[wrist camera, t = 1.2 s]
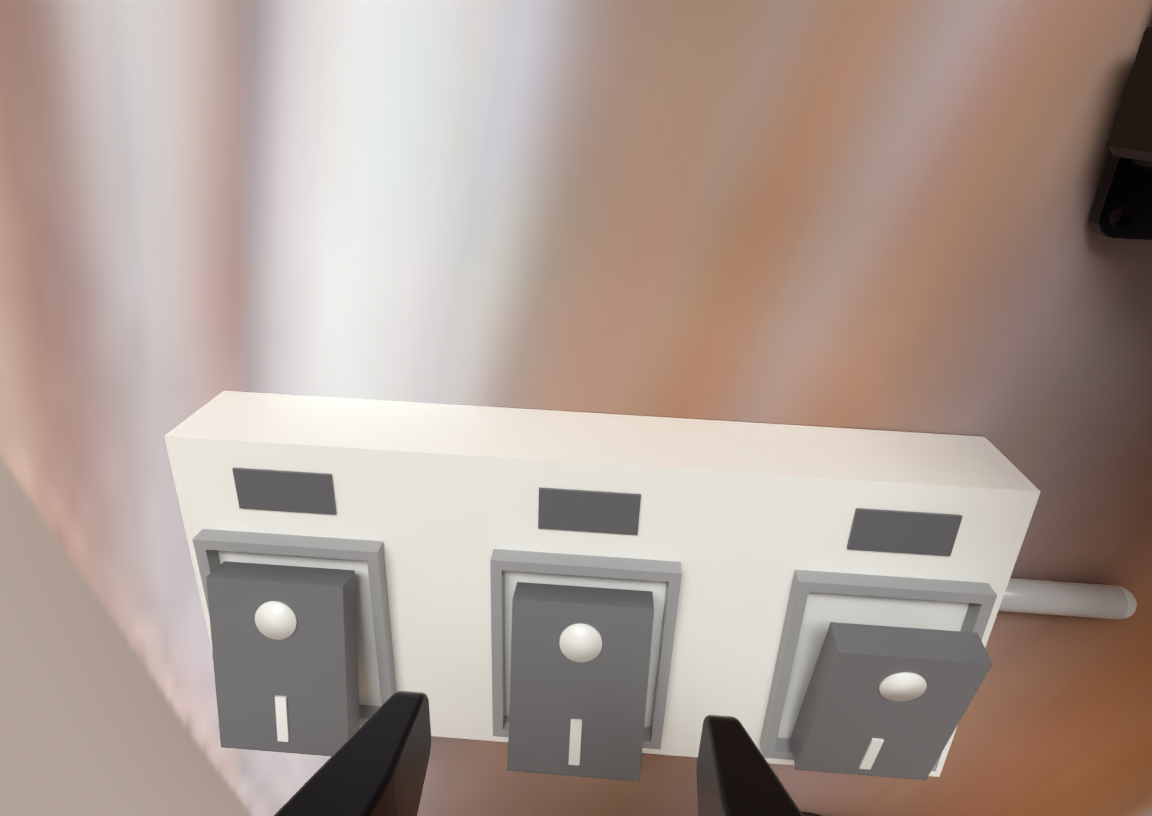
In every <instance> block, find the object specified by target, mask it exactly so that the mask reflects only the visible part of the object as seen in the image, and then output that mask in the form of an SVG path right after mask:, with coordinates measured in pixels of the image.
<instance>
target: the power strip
mask: <svg viewBox="0 0 1152 816" xmlns="http://www.w3.org/2000/svg"><path fill="white" fill-rule="evenodd" d="M164 437H165V442H166V446H167V451H168V455H169V460H170V464H171V469H172V473H173V478H174V482H175V486H176V491H177V495H178V500H179V504H180V509H181V513H182V518H183V522H184V527H185V531H186V536H187V540H188V545H189V549H190V553H191V558H192V562H193V567H194V571H195V576H196V580H197V585H198V589H199V594H200V598H201V603H202V607H203V612H204V616H205V620H206V625H207V629H208V634H209V638H210V643H211V647H212V639H211V627H210V616H209V605H208V594H207V582H206V577H207V576H208V575H209V574H210V573H211V572H212V571H214V570H215V569H216V568H217V567H218V566H219V565H221V564H222V563H223V562H224V561H229V562H243V563H257V564H271V565H285V566H299V567H314V568H328V569H342V570H355V588H356V619H357V651H358V682H359V714H360V727H361V726H362V725H363V724H364V723H365V722H366V721H367V720H368V719H369V718H370V717H371V716H372V715H373V714H374V713H375V712H376V711H377V710H378V709H379V708H380V707H381V706H382V705H383V704H384V703H385V702H386V701H387V700H388V699H389V698H390V697H391V696H392V695H393V694H394V693H396V692H398V691H410V692H423V693H425V694H426V695H427V697H428V699H429V711H430V727H431V736H436V737H448V738H461V739H473V740H486V741H498V742H508V738H509V704H510V669H511V634H512V600H513V595H514V592H515V588H516V585H517V582H526V583H540V584H554V585H568V586H583V587H597V588H611V589H625V590H639V591H652V593H653V603H654V616H653V628H652V640H651V652H650V664H649V676H648V688H647V700H646V711H645V723H644V735H643V747H642V753H648V754H661V755H673V756H686V757H698V753H699V746H700V740H701V733H702V727H703V721H704V719H705V717H706V716H708V715H719V716H732V717H735V718H737V719H738V720H739V721H740V722H741V724H742V725H743V727H744V728H745V730H746V731H747V733H748V734H749V736H750V737H751V739H752V740H753V742H754V743H755V745H756V746H757V748H758V749H759V751H760V752H761V754H762V755H763V757H764V758H765V760H766V761H767V762H768V763H773V764H786V765H795V764H794V759H793V753H792V748H791V743H790V737H791V735H792V732H793V729H794V726H795V723H796V720H797V717H798V714H799V711H800V709H801V706H802V703H803V700H804V697H805V694H806V691H807V688H808V686H809V683H810V680H811V677H812V674H813V671H814V668H815V665H816V662H817V660H818V657H819V654H820V651H821V648H822V645H823V642H824V639H825V637H826V634H827V631H828V628H829V625H830V622H836V623H850V624H863V625H877V626H891V627H905V628H919V629H933V630H947V631H961V632H975V633H978V635H979V637H980V639H981V641H982V643H983V645H984V647H986V644H987V641H988V639H989V636H990V633H991V630H992V627H993V624H994V622H995V619H996V616H997V613H998V611H1005V612H1019V613H1034V614H1048V615H1062V616H1076V617H1090V618H1105V619H1125V618H1128V617H1130V616H1132V615H1133V614H1134V613H1135V611H1136V608H1137V602H1136V599H1135V597H1134V595H1133V594H1132V593H1131V592H1130V591H1129V590H1127V589H1125V588H1124V587H1121V586H1116V585H1104V584H1089V583H1075V582H1060V581H1045V580H1031V579H1016V578H1010V577H1011V574H1012V571H1013V568H1014V565H1015V563H1016V560H1017V557H1018V554H1019V551H1020V549H1021V546H1022V543H1023V540H1024V537H1025V534H1026V532H1027V529H1028V526H1029V523H1030V520H1031V518H1032V515H1033V512H1034V509H1035V506H1036V504H1037V501H1038V498H1039V495H1040V491H1039V490H1038V489H1037V488H1036V487H1035V486H1034V485H1033V484H1032V483H1031V482H1030V481H1029V480H1028V479H1027V478H1026V477H1025V476H1024V475H1023V474H1022V473H1021V472H1020V471H1019V470H1018V469H1017V468H1016V467H1015V466H1014V465H1013V464H1012V463H1011V462H1010V461H1009V460H1008V459H1007V458H1006V457H1005V456H1004V455H1003V454H1002V453H1001V452H1000V451H999V450H998V449H997V448H996V447H995V446H994V445H993V444H991V443H990V442H989V441H988V440H987V439H986V438H985V437H980V436H963V435H947V434H930V433H914V432H897V431H881V430H864V429H848V428H831V427H815V426H798V425H782V424H765V423H749V422H732V421H716V420H699V419H683V418H667V417H650V416H634V415H617V414H601V413H584V412H568V411H551V410H535V409H518V408H502V407H485V406H469V405H452V404H436V403H419V402H403V401H386V400H370V399H353V398H337V397H320V396H304V395H287V394H271V393H254V392H238V391H223V392H221V393H220V394H219V395H217V396H216V397H215V398H213V399H212V400H211V401H210V402H208V403H207V404H206V405H204V406H203V407H202V408H200V409H199V410H198V411H196V412H195V413H194V414H192V415H191V416H190V417H189V418H187V419H186V420H185V421H183V422H182V423H181V424H179V425H178V426H177V427H175V428H174V429H173V430H171V431H170V432H169V433H168V434H166V435H165V436H164ZM212 652H213V650H212ZM957 726H958V725H957ZM956 729H957V727H956V728H955V730H954V732H953V734H952V735H951V737H950V739H949V741H948V743H947V744H946V746H945V748H944V750H943V751H942V753H941V755H940V757H939V758H938V760H937V762H936V764H935V765H934V767H933V769H932V771H931V772H930V774H929V776H936V777H939V776H940V774H941V771H942V768H943V765H944V762H945V759H946V757H947V754H948V751H949V748H950V745H951V743H952V740H953V737H954V734H955V731H956Z"/></svg>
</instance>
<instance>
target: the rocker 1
mask: <svg viewBox="0 0 1152 816" xmlns="http://www.w3.org/2000/svg"><path fill="white" fill-rule="evenodd" d="M206 582H207V594H208V605H209V616H210V627H211V639H212V650H213V661H214V672H215V684H216V695H217V706H218V717H219V729H220V740H221V747H225V748H237V749H250V750H262V751H274V752H286V753H299V754H311V755H323V756H333V755H334V754H335V753H336V752H337V751H338V750H339V749H340V748H341V747H342V746H343V745H344V744H345V743H346V742H347V741H348V740H349V739H350V737H351V736H352V735H353V734H354V733H355V732H356V731H357V730H358V729H359V728H360V714H359V682H358V651H357V619H356V588H355V570H342V569H328V568H314V567H299V566H285V565H271V564H257V563H243V562H229V561H224V562H223V563H222V564H221V565H219V566H218V567H217V568H216V569H215V570H214V571H212V572H211V573H210V574H209V575H208V576H207V577H206Z"/></svg>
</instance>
